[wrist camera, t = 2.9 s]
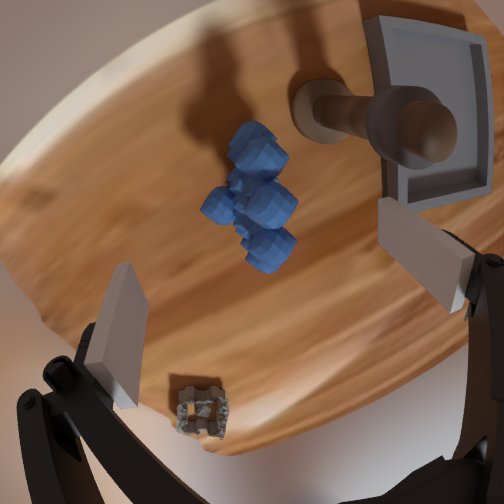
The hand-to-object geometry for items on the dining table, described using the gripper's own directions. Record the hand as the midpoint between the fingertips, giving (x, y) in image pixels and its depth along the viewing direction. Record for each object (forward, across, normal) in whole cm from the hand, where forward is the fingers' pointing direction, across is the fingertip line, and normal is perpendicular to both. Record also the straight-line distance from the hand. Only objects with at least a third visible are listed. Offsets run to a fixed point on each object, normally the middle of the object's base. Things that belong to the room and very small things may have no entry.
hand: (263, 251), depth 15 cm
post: (+14, -10, -5) cm, 17 cm away
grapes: (+14, 0, 0) cm, 14 cm away
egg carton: (+14, +12, +31) cm, 36 cm away
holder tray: (+14, -24, -4) cm, 27 cm away
